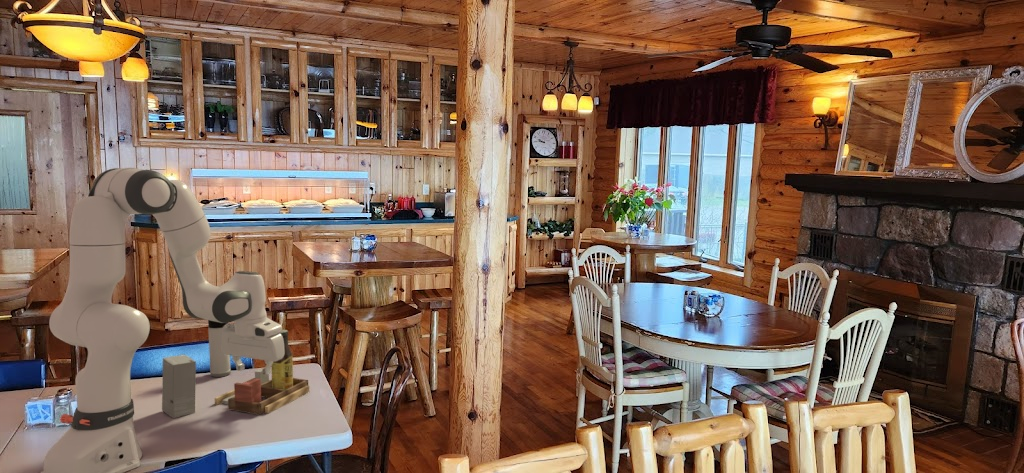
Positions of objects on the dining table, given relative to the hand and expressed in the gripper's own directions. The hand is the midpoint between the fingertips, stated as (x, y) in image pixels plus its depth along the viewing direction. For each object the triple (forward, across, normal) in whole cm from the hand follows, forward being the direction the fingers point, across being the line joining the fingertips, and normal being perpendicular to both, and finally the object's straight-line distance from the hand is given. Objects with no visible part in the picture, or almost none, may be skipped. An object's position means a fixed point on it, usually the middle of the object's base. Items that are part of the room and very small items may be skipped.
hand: (253, 371), depth 194 cm
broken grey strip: (+11, -9, +7) cm, 16 cm away
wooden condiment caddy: (+11, 0, +6) cm, 12 cm away
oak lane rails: (+11, -3, +7) cm, 13 cm away
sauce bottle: (+11, 0, +12) cm, 17 cm away
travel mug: (+11, -31, +19) cm, 39 cm away
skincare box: (+11, -18, -11) cm, 23 cm away
